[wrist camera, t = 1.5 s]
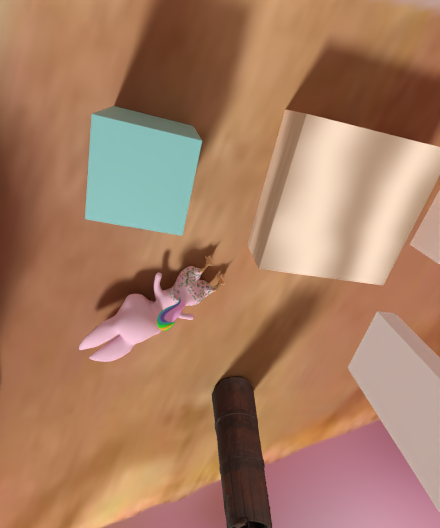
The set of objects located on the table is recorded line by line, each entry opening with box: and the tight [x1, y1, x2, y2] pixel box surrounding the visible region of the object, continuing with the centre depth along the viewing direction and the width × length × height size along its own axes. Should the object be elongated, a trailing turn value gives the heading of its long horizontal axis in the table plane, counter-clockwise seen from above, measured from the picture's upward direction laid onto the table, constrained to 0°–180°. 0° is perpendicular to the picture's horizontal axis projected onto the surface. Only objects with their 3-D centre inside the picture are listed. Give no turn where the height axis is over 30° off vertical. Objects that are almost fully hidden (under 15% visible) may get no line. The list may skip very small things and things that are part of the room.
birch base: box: [247, 109, 440, 285], centre depth 28 cm, size 12×12×5 cm
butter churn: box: [212, 377, 272, 528], centre depth 28 cm, size 9×10×28 cm
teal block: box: [85, 106, 202, 236], centre depth 23 cm, size 6×6×8 cm
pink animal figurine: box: [79, 256, 225, 362], centre depth 30 cm, size 6×6×15 cm
